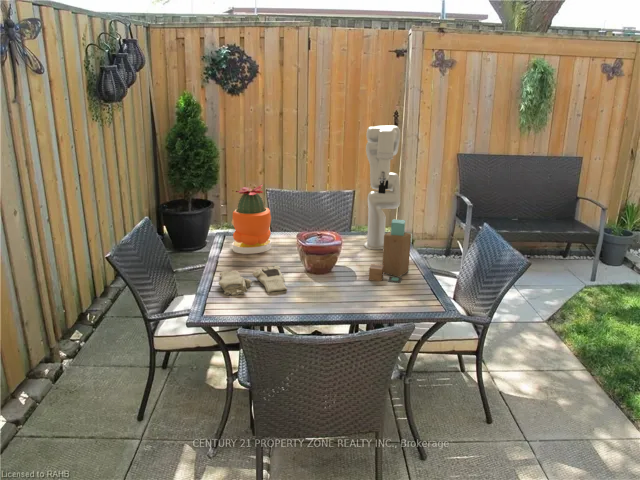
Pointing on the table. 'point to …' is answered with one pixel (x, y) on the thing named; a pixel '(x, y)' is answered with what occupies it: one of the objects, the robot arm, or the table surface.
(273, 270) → the pair of gloves
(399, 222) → the teal cube
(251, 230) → the potted cactus
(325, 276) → the table surface
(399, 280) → the card
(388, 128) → the robot arm
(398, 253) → the wooden block
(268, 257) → the table surface
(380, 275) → the walnut cube
